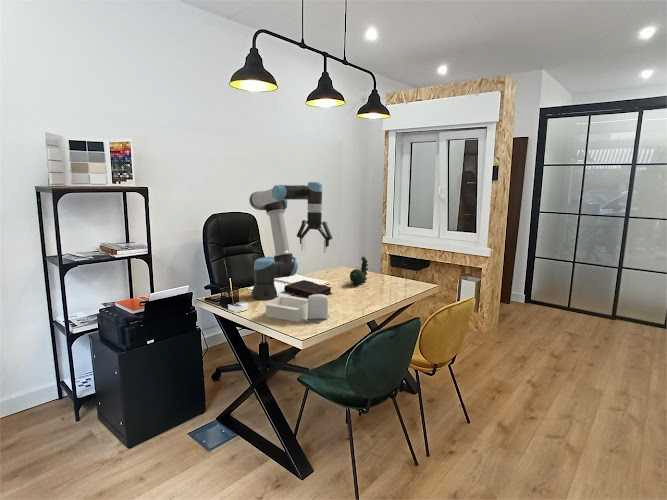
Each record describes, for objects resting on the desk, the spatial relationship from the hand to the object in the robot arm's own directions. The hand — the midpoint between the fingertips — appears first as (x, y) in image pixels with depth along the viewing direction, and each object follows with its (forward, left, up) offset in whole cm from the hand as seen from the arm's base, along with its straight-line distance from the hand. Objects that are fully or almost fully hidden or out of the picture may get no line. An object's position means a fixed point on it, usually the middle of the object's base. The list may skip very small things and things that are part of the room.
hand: (314, 251), depth 212 cm
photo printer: (+10, -14, -31) cm, 36 cm away
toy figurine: (+3, +63, -32) cm, 71 cm away
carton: (-6, -16, -32) cm, 36 cm away
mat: (+10, -14, -32) cm, 36 cm away
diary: (-17, +26, -32) cm, 45 cm away
